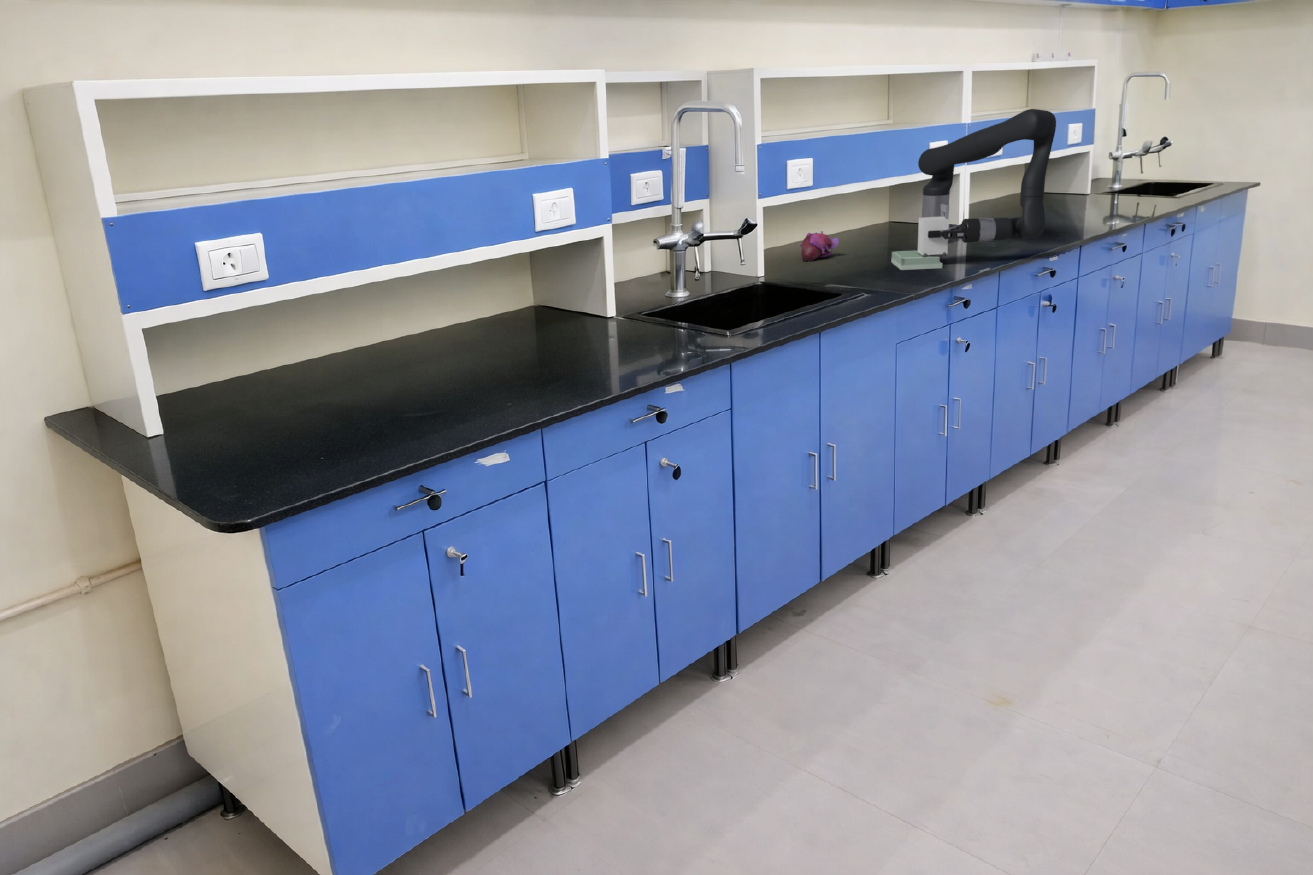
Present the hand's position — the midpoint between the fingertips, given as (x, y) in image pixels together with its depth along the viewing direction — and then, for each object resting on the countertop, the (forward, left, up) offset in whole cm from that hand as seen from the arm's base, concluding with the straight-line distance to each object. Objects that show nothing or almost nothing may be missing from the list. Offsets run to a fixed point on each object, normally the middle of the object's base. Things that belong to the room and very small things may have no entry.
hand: (925, 233), depth 313 cm
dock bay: (0, -3, -10) cm, 11 cm away
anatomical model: (-21, -32, -10) cm, 40 cm away
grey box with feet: (0, +2, -7) cm, 8 cm away
